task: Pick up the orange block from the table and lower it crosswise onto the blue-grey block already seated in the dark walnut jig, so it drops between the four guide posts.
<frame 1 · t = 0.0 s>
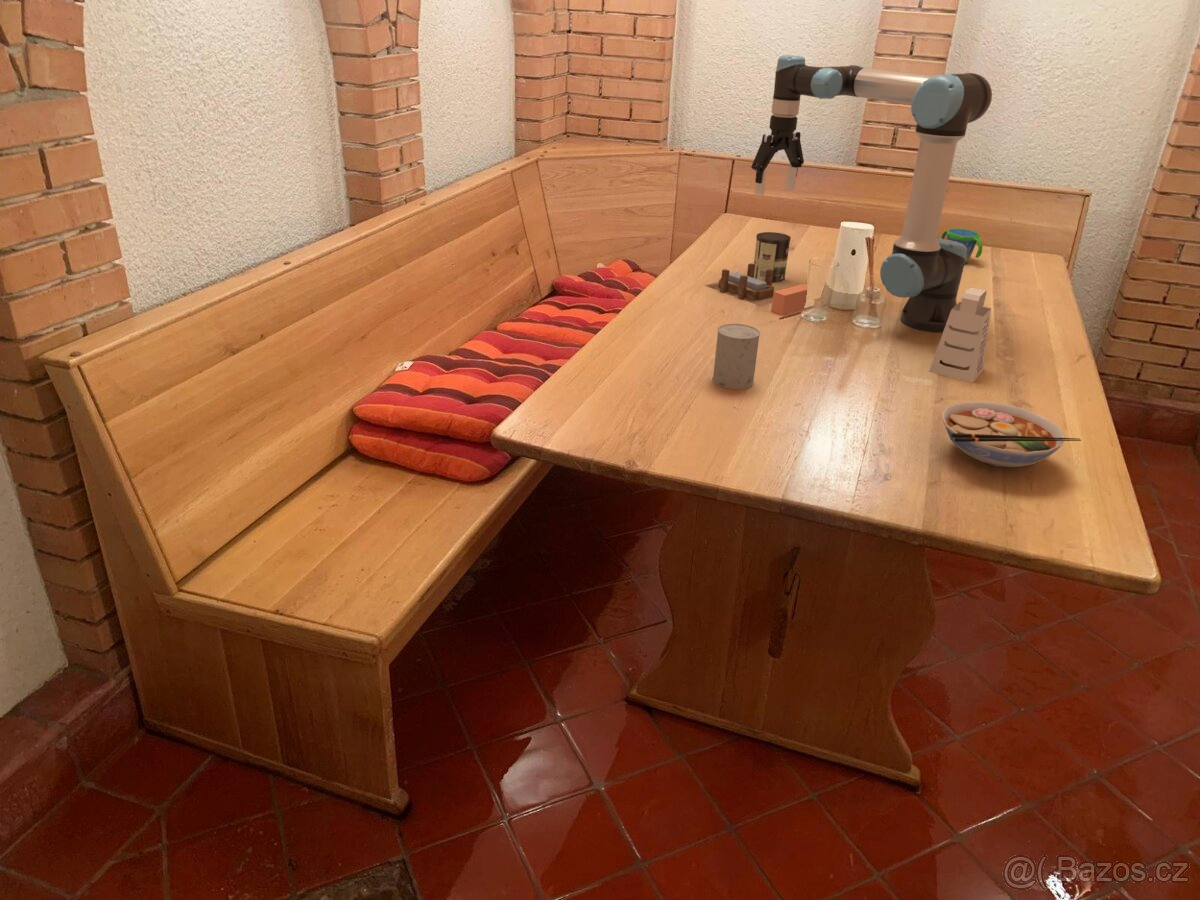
hand: (774, 192, 266), 28 cm above the table, tool pointing down, fingers open, 13 cm apart
jig: (745, 295, 268), on the table
blue-grey block: (745, 291, 268), point 1 cm above the table, touching jig
grater: (956, 371, 223), on the table
orange block: (792, 313, 256), on the table
snack cup: (956, 262, 311), on the table
coffee can: (767, 281, 282), on the table
ramen bowl: (993, 458, 182), on the table
grey concrete cylinder: (732, 381, 212), on the table
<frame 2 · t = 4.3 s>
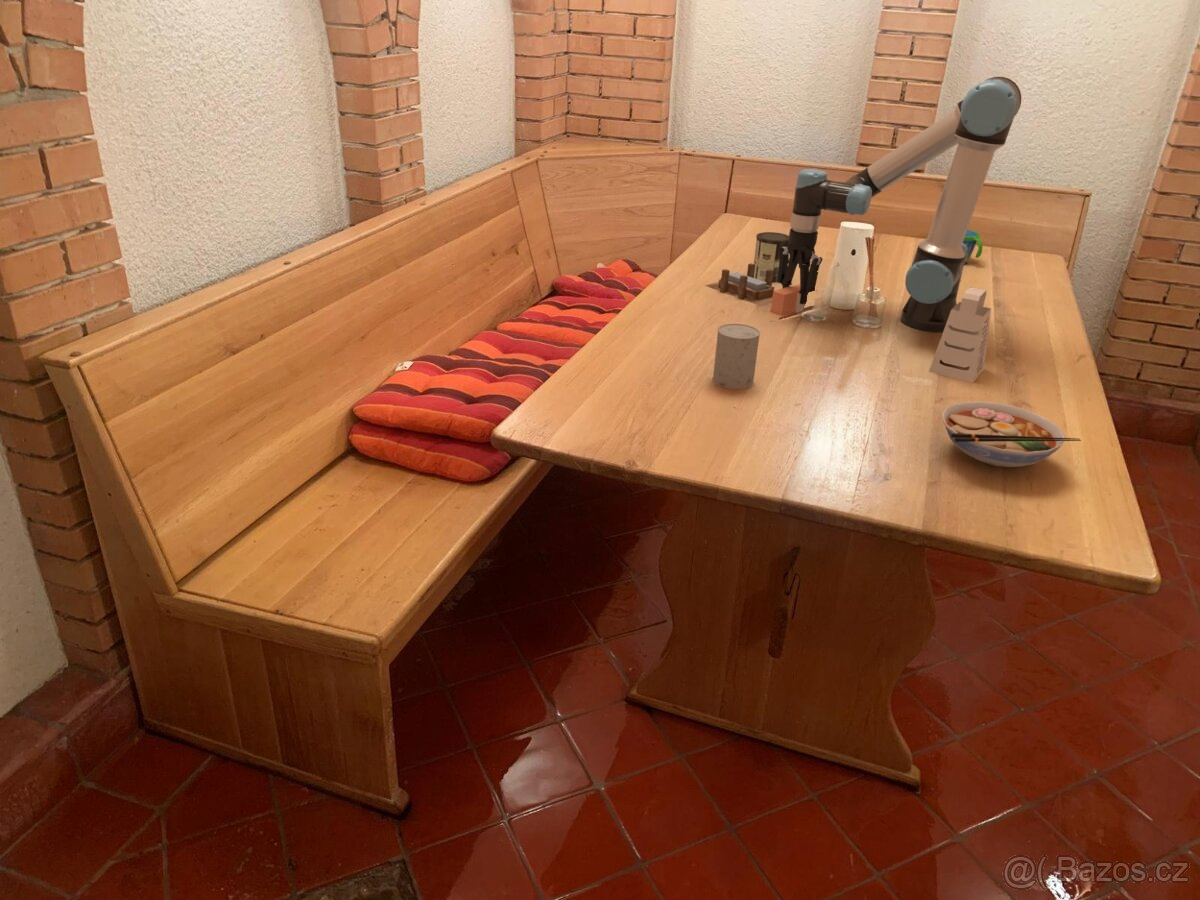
hand: (791, 311, 256), 0 cm above the table, tool pointing down, fingers closed on orange block, 4 cm apart
orange block: (791, 312, 256), on the table, touching gripper
everything else where it was.
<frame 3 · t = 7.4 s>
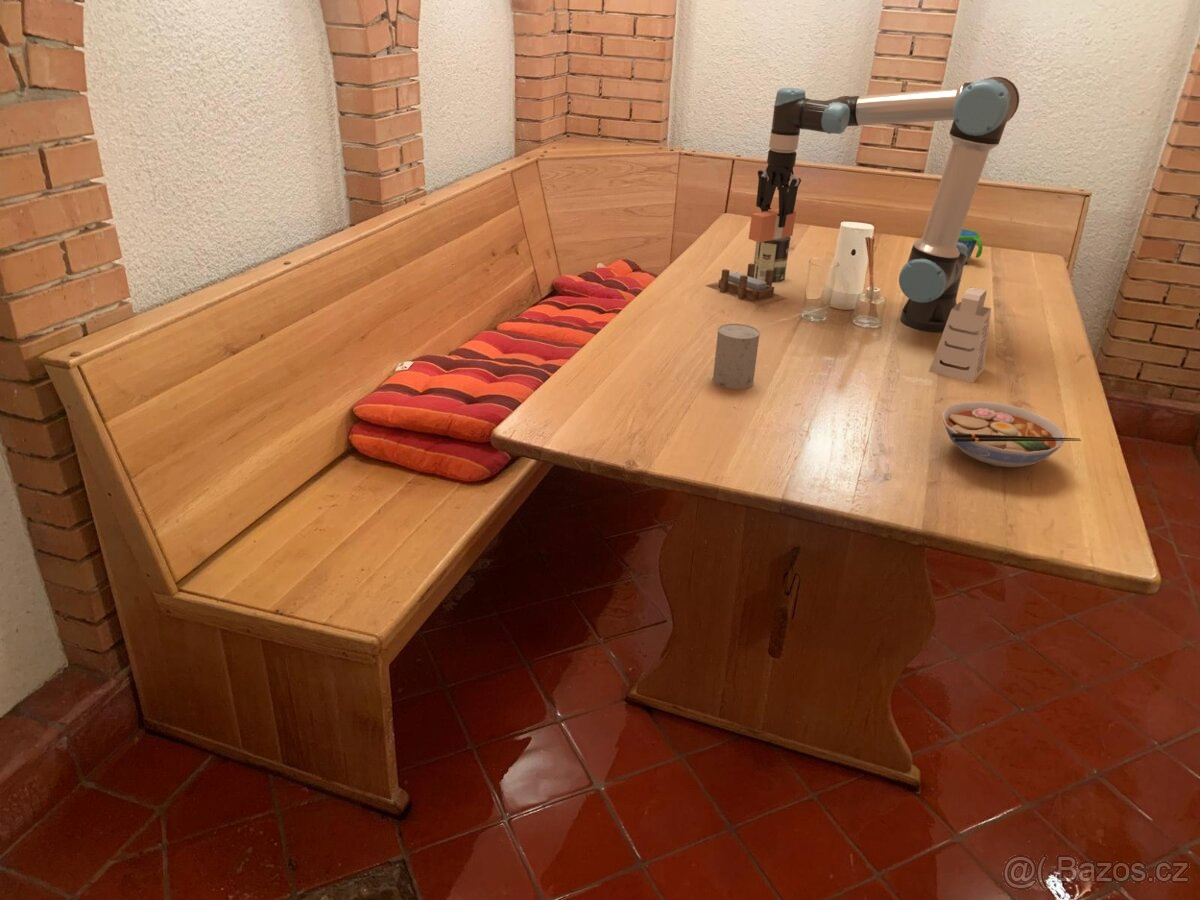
hand: (770, 236, 255), 19 cm above the table, tool pointing down, fingers closed on orange block, 4 cm apart
orange block: (770, 237, 255), point 19 cm above the table, touching gripper
everything else where it was.
when the fingers open (7 cm above the table, at t = 10.5 s): orange block drops 1 cm, resting on blue-grey block.
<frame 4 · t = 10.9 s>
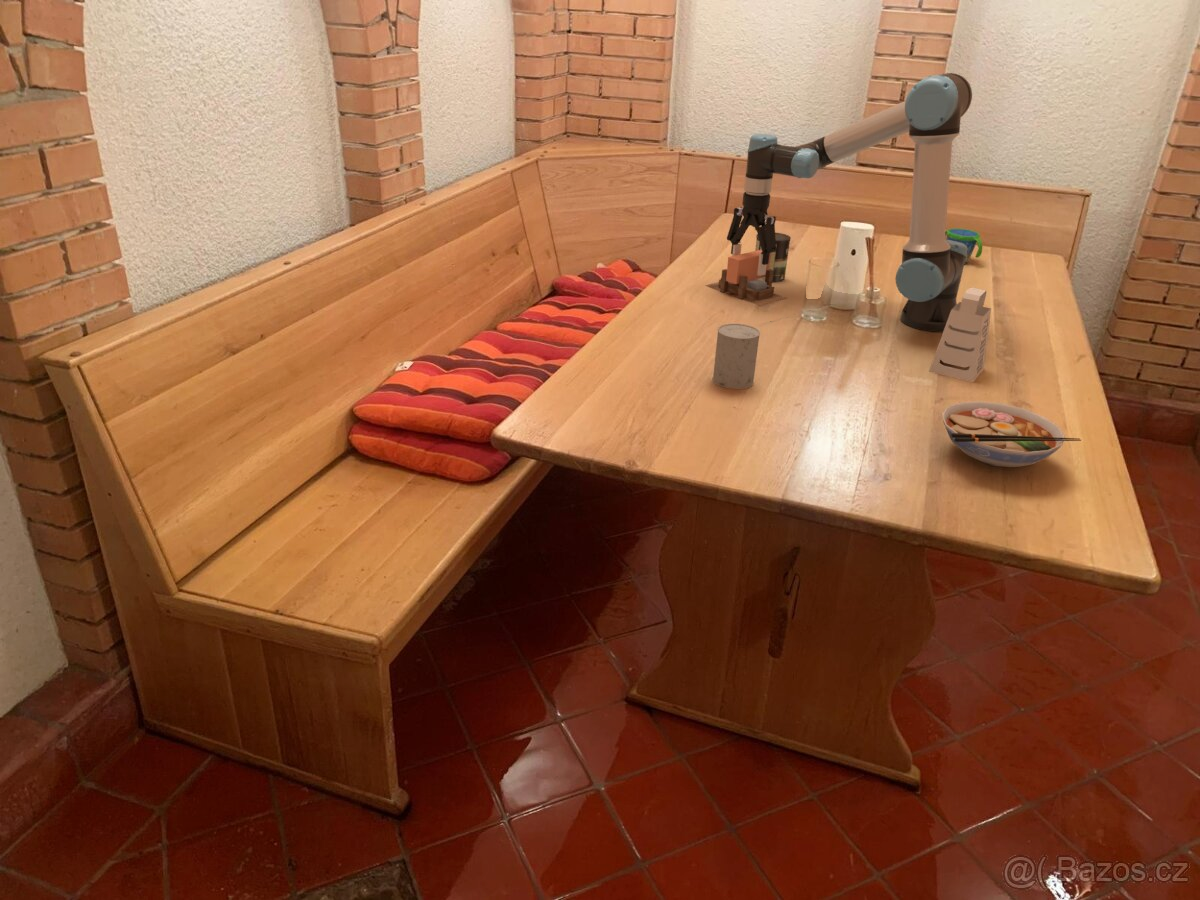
hand: (747, 270, 265), 8 cm above the table, tool pointing down, fingers open, 9 cm apart
blue-grey block: (745, 291, 268), point 1 cm above the table, touching jig, orange block
orange block: (747, 278, 266), point 5 cm above the table, touching blue-grey block
everything else where it was.
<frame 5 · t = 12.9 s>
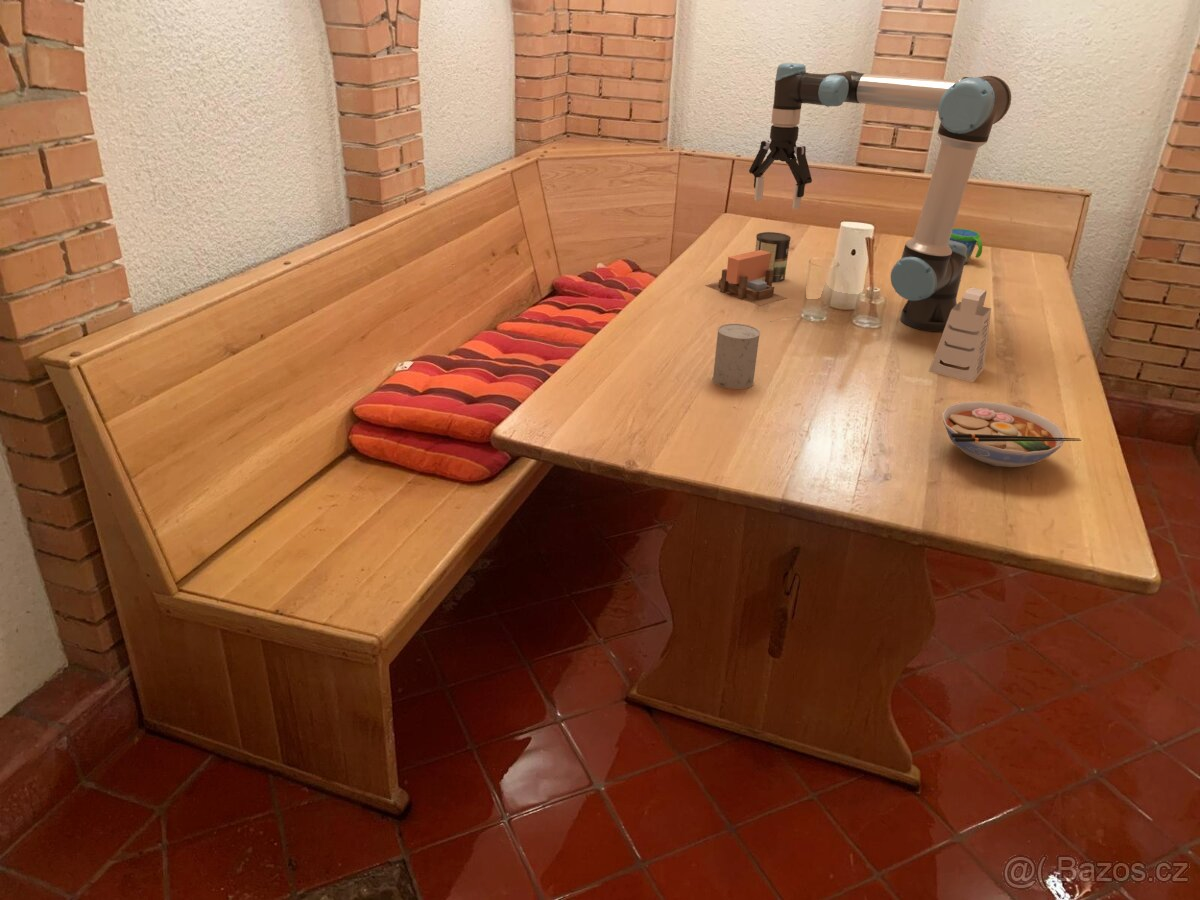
hand: (776, 204, 256), 27 cm above the table, tool pointing down, fingers open, 13 cm apart
nothing on the table moved.
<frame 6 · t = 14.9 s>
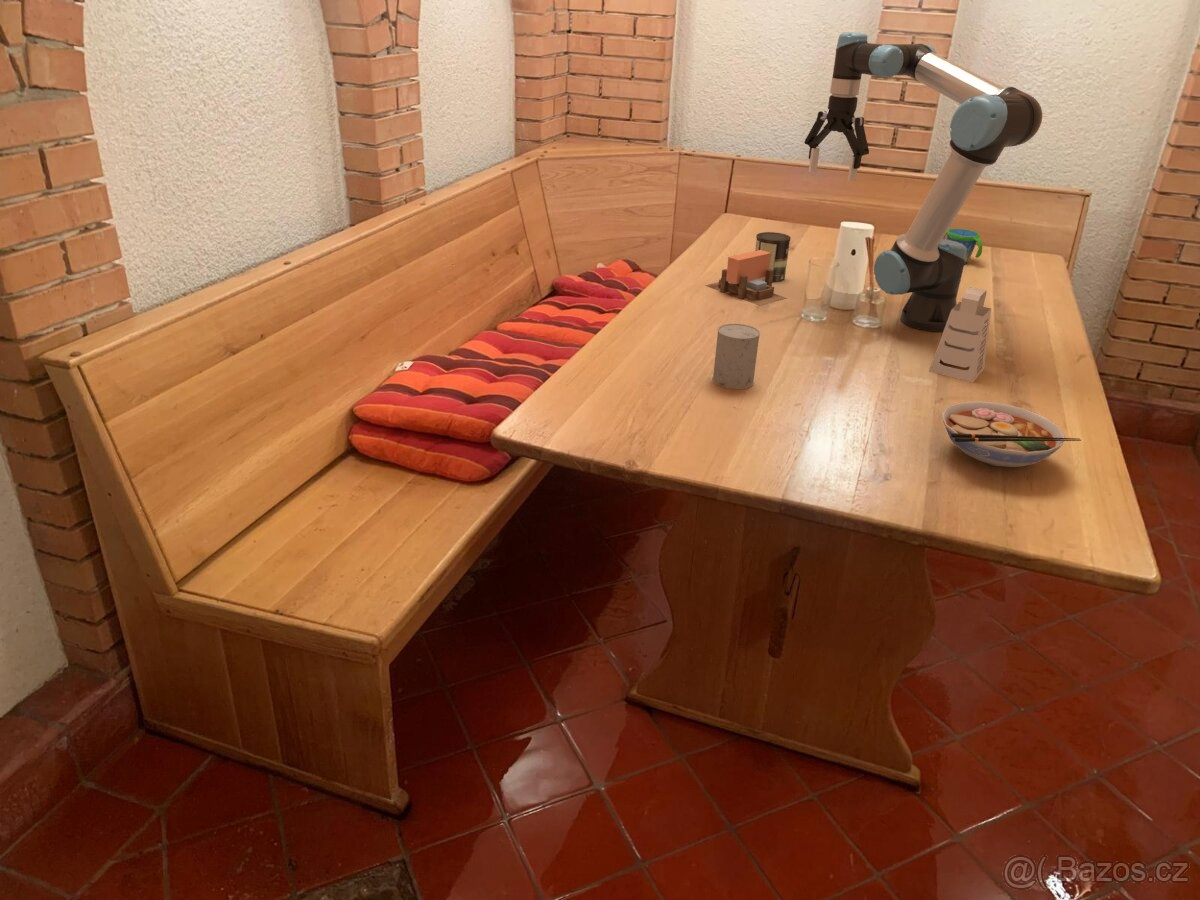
hand: (831, 176, 255), 35 cm above the table, tool pointing down, fingers open, 13 cm apart
nothing on the table moved.
at the end: orange block 0.0 cm off-centre on the blue-grey block, point 4.0 cm above the blue-grey block's base; orange block tilted 0°; blue-grey block 0.0 cm off-centre on the jig, point 1.2 cm above the jig's base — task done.
